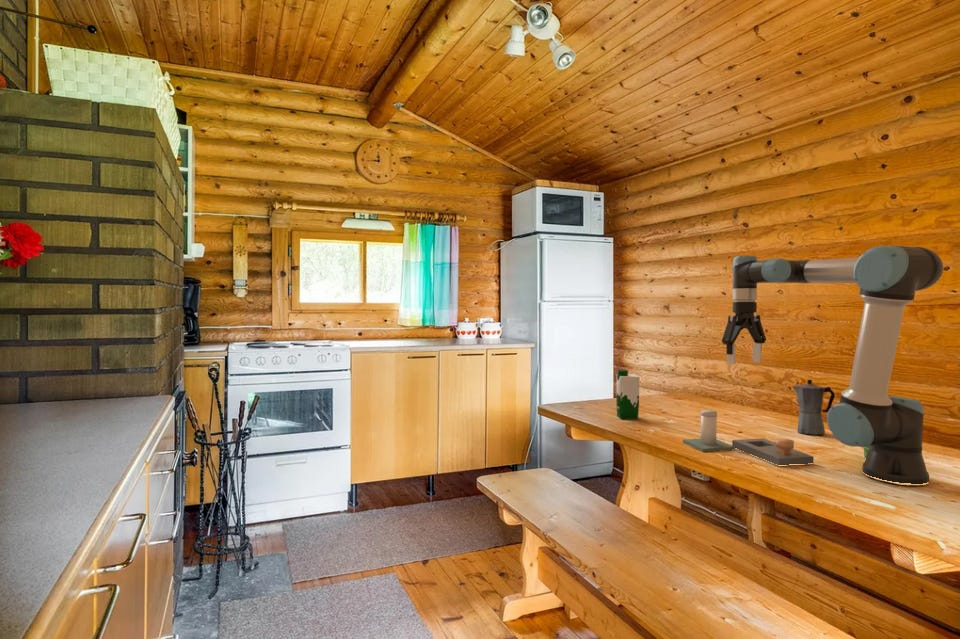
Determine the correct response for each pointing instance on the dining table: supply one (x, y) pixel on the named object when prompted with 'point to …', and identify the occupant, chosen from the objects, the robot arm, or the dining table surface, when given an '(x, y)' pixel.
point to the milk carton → (627, 395)
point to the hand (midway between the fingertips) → (744, 363)
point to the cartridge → (708, 427)
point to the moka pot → (811, 407)
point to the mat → (702, 447)
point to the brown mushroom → (784, 446)
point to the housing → (771, 452)
